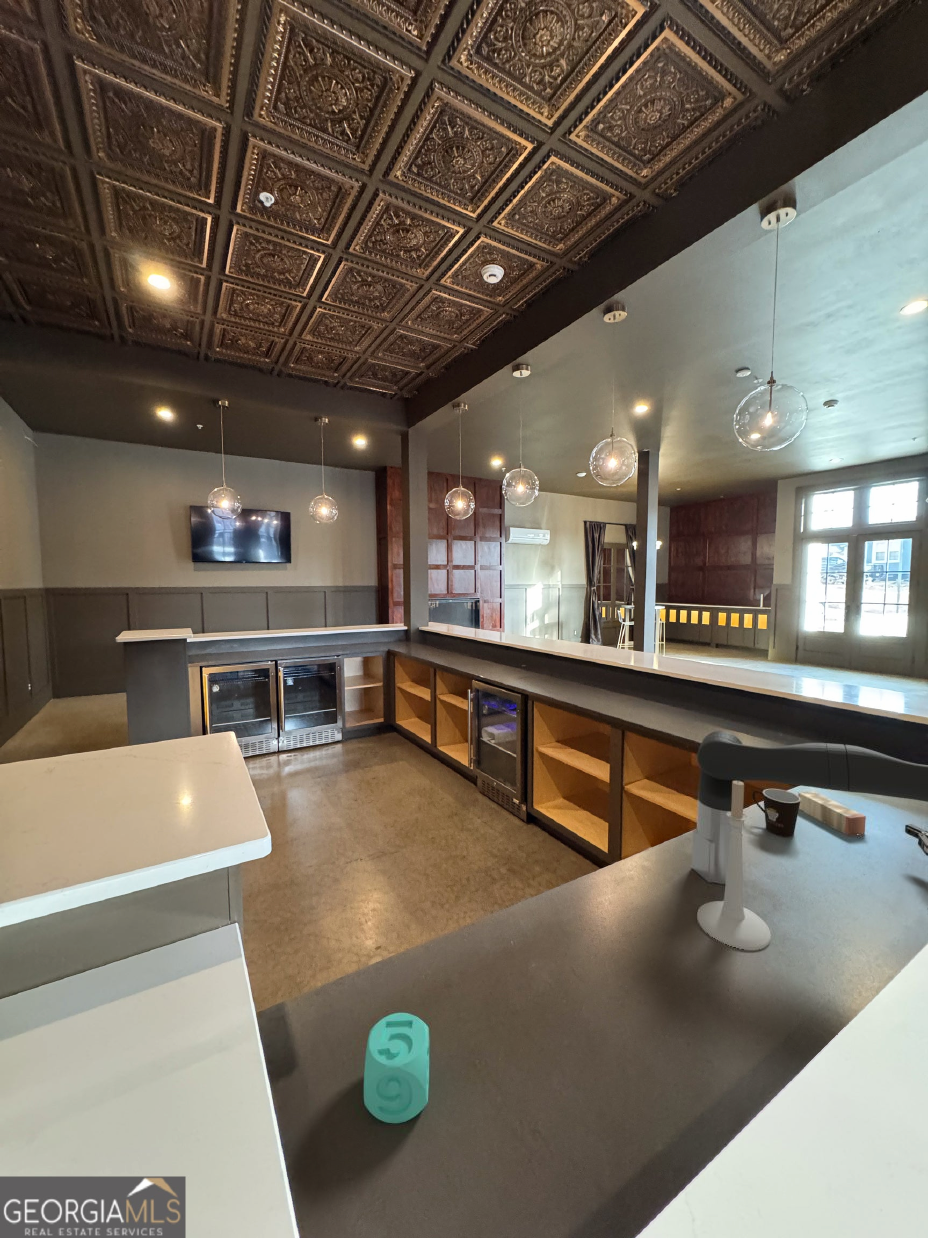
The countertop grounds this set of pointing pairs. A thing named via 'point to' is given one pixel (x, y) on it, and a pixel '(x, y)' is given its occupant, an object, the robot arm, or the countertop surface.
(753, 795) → the coffee mug
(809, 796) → the maple block
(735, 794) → the candlestick
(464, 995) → the countertop surface
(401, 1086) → the decorative dice
